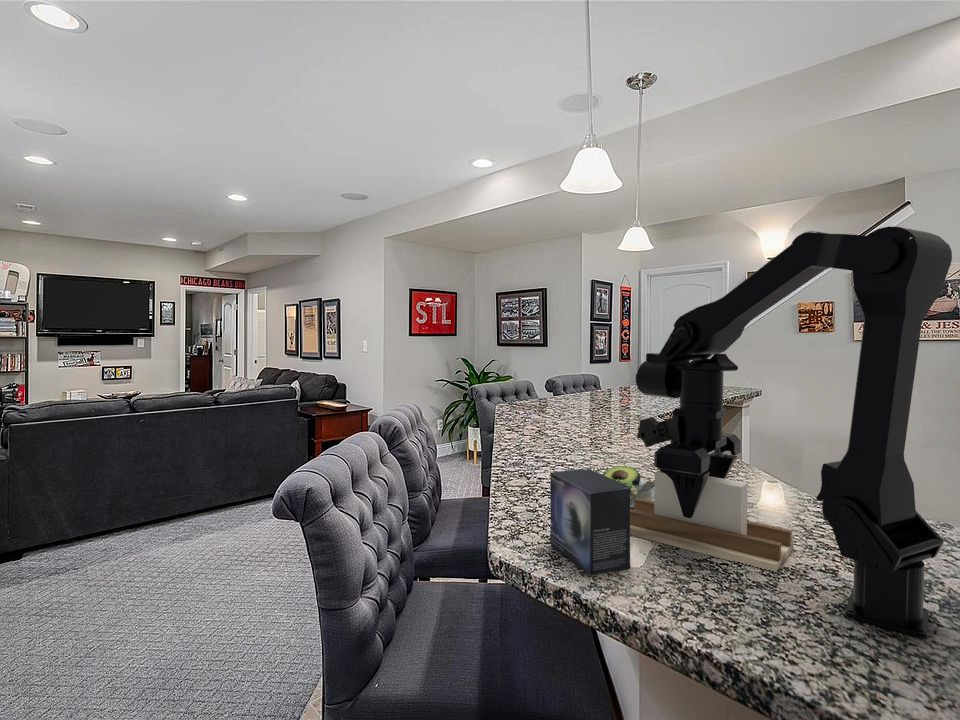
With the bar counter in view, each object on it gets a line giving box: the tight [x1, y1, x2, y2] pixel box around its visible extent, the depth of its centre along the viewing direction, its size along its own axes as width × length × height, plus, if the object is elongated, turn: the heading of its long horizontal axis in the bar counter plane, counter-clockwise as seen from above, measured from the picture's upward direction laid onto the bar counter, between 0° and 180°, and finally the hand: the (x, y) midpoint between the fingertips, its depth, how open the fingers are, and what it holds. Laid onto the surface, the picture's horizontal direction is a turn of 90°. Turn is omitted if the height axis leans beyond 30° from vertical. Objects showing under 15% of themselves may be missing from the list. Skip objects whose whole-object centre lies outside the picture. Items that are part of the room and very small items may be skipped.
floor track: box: [630, 498, 794, 573], centre depth 75 cm, size 10×22×3 cm, turn 49°
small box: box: [549, 467, 631, 576], centre depth 69 cm, size 11×6×10 cm, turn 21°
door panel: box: [653, 469, 749, 535], centre depth 75 cm, size 3×12×8 cm, turn 49°
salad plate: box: [603, 465, 655, 510], centre depth 96 cm, size 19×18×5 cm
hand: (699, 509), depth 75 cm, fingers open, 9 cm apart
